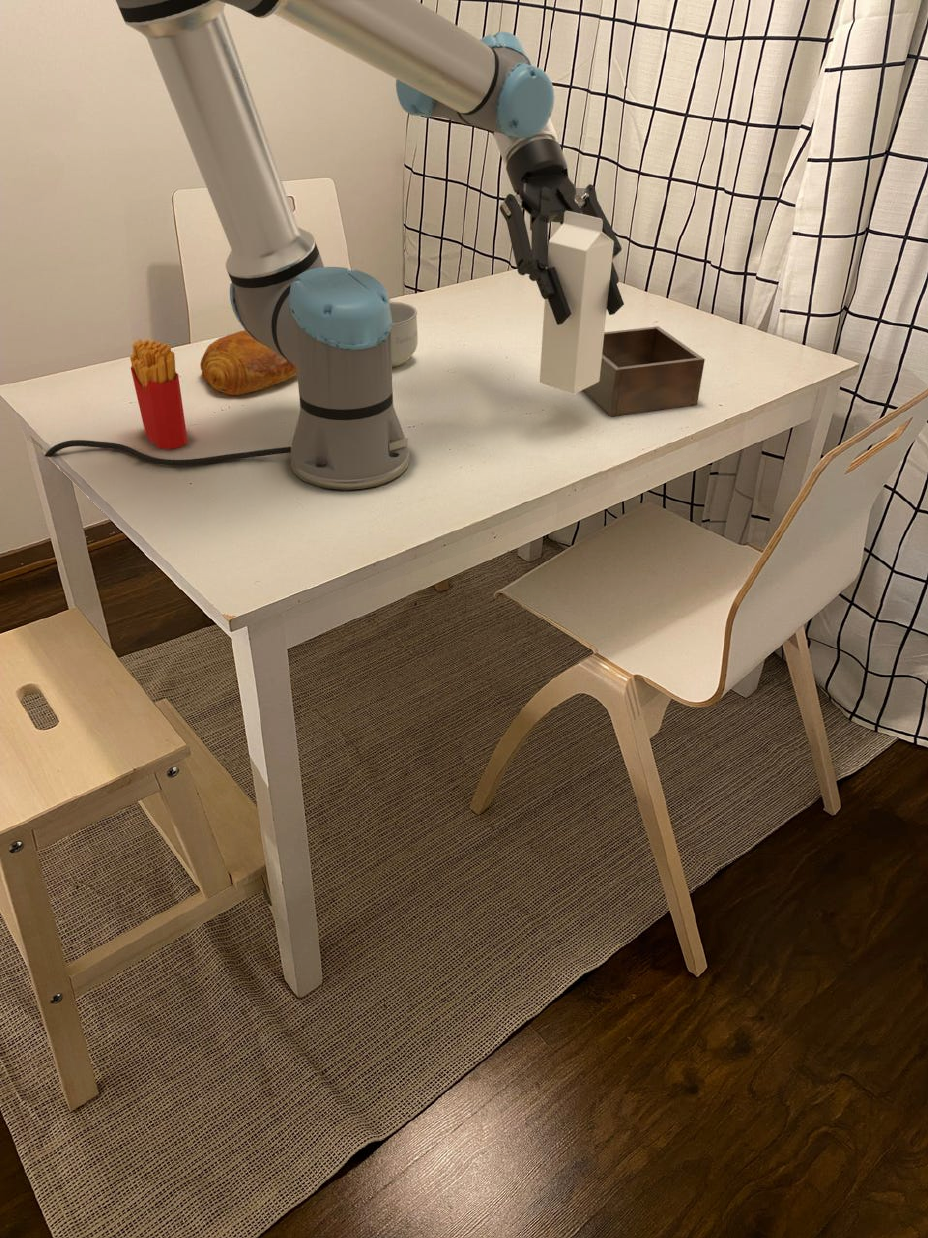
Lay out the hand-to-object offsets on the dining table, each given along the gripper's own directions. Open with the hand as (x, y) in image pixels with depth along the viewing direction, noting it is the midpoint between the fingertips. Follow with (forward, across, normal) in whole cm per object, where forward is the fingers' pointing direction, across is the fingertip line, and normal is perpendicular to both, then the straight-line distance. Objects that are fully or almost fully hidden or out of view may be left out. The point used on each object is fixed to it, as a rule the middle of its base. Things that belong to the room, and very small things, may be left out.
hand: (590, 314), depth 124 cm
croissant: (-16, +34, -39) cm, 55 cm away
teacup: (-14, +12, -38) cm, 42 cm away
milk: (+5, 0, -10) cm, 11 cm away
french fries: (-5, +51, -28) cm, 59 cm away
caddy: (+6, -15, -17) cm, 24 cm away
